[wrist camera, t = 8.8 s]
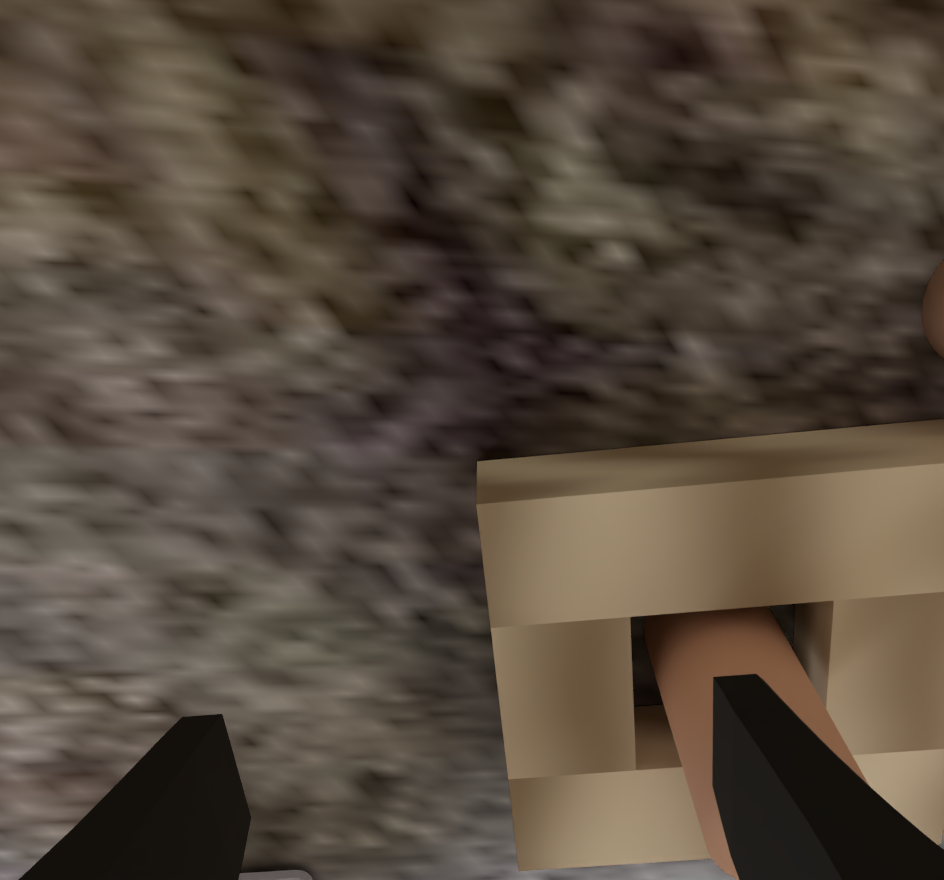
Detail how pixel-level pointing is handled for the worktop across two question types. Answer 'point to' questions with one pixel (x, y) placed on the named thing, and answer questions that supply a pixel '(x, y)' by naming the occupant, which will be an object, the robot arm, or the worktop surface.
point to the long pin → (691, 693)
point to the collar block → (703, 589)
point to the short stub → (935, 311)
